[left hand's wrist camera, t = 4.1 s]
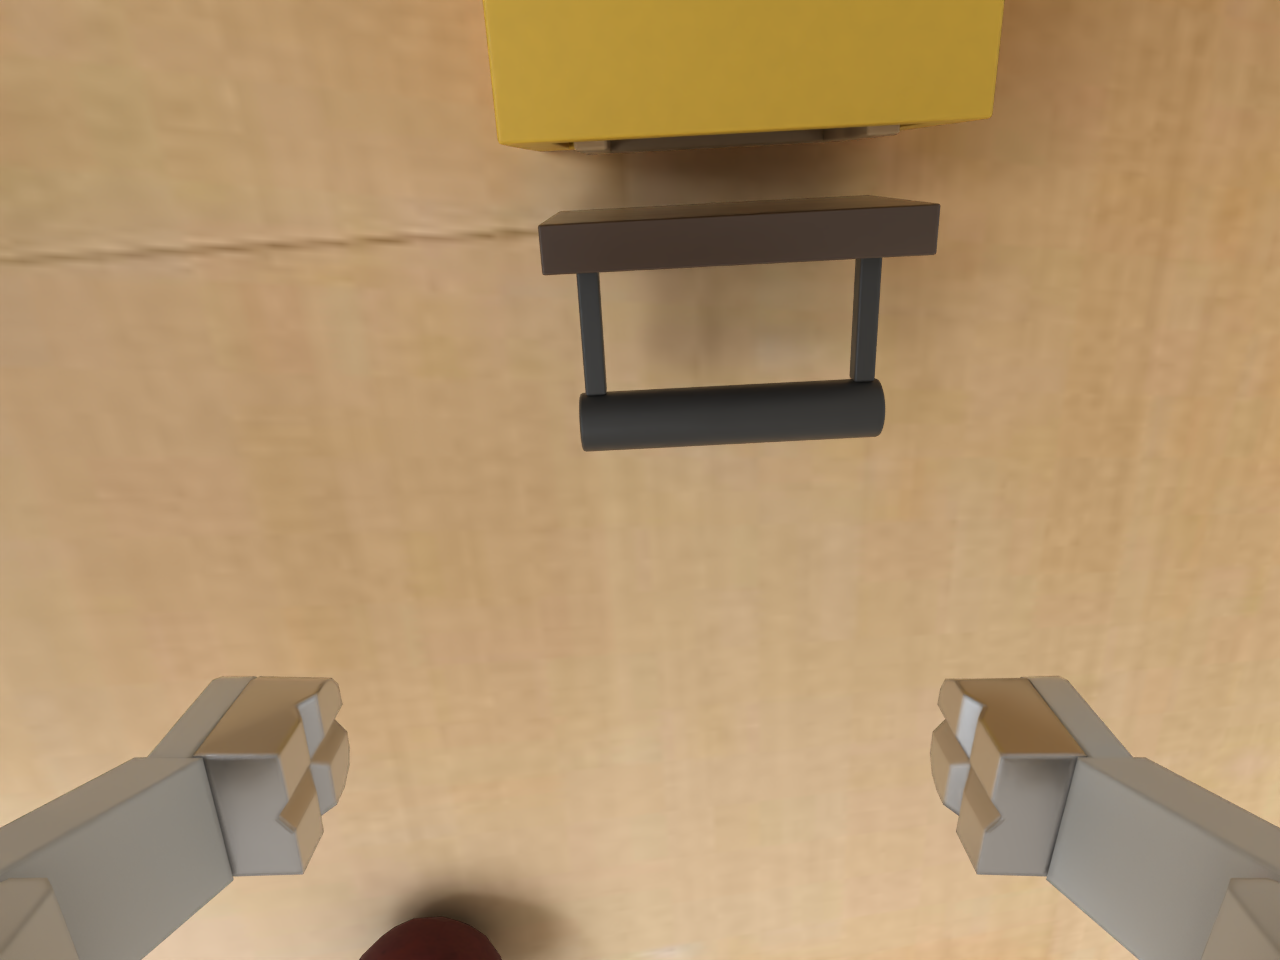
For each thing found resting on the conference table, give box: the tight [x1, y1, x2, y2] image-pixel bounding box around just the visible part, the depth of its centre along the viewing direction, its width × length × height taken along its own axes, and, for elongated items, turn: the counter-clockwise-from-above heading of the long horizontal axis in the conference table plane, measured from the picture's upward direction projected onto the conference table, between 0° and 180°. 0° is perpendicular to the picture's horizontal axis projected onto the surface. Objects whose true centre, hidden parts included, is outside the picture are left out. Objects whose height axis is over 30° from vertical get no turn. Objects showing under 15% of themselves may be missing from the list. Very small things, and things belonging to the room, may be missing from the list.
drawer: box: [538, 125, 940, 451], centre depth 21 cm, size 20×10×6 cm, turn 3°
